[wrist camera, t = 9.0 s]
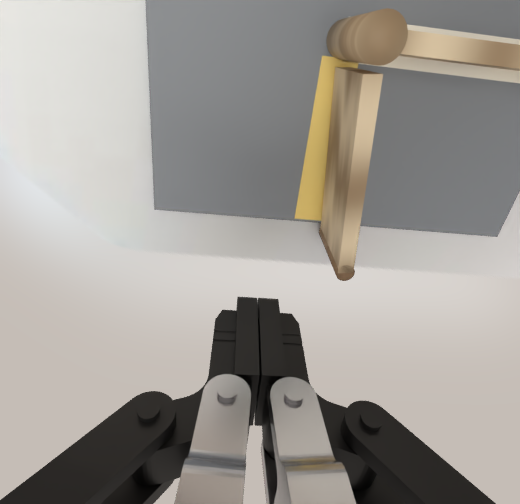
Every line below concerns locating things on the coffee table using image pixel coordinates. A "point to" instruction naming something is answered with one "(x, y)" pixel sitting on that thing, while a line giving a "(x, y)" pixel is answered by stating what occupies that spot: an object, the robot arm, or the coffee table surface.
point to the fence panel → (348, 163)
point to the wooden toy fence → (411, 43)
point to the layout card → (329, 114)
